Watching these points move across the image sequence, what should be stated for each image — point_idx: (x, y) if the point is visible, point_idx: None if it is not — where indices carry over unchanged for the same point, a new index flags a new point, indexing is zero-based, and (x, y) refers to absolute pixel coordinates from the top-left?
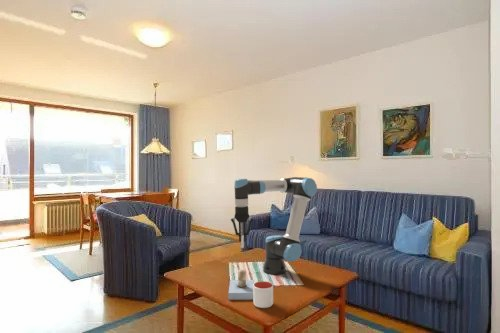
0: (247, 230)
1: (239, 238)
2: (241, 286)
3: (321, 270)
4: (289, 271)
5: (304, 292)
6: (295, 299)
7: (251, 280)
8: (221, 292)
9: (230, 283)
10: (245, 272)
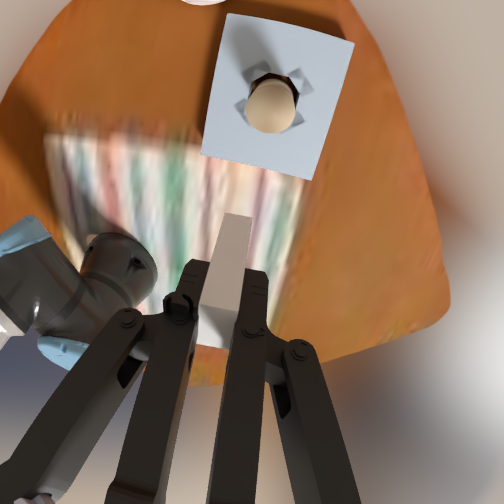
0: (112, 366)
1: (261, 301)
2: (279, 81)
3: None
4: (79, 245)
5: (50, 72)
6: (86, 15)
7: (214, 152)
8: (360, 121)
9: (320, 143)
10: (250, 96)
